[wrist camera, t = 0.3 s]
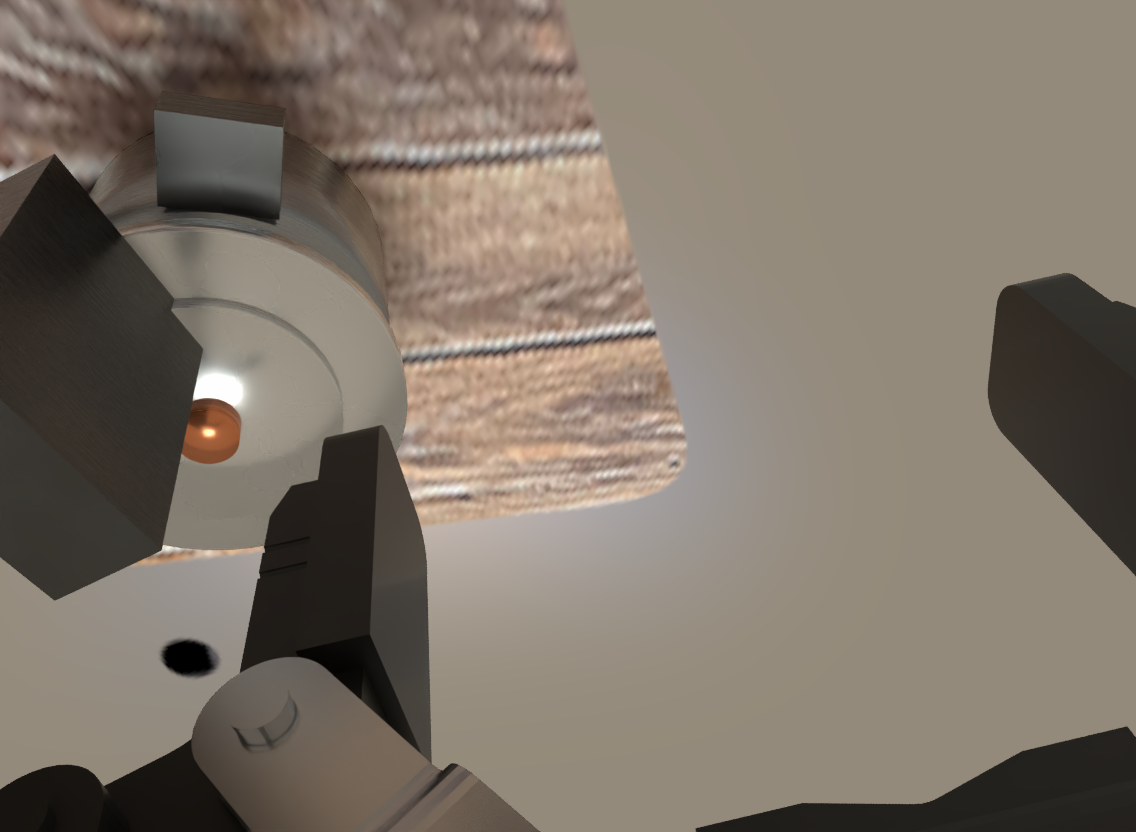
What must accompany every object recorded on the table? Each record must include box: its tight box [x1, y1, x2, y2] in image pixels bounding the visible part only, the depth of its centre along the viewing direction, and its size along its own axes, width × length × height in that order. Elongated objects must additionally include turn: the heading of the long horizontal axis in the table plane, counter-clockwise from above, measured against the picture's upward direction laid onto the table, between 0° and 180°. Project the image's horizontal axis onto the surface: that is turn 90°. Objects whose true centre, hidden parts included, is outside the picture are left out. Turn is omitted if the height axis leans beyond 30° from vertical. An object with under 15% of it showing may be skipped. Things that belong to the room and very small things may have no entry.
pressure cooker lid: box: [0, 154, 407, 600], centre depth 22 cm, size 13×11×9 cm
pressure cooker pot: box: [89, 91, 390, 326], centre depth 29 cm, size 14×10×8 cm
